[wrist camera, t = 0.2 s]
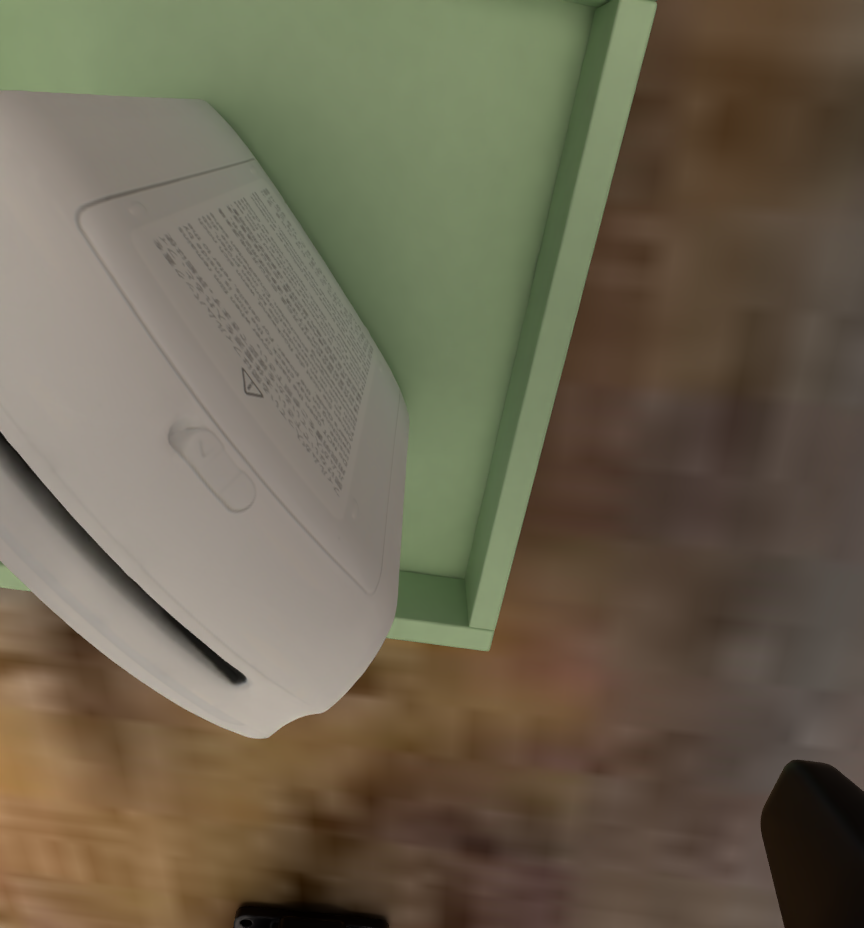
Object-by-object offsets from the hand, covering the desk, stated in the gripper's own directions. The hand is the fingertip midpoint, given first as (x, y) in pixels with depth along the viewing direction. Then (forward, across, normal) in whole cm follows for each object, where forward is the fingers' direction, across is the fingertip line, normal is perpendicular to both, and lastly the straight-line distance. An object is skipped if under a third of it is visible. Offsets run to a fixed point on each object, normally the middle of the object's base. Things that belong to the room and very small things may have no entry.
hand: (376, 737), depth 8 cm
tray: (+15, +4, -1) cm, 15 cm away
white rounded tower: (+14, +4, -1) cm, 15 cm away
